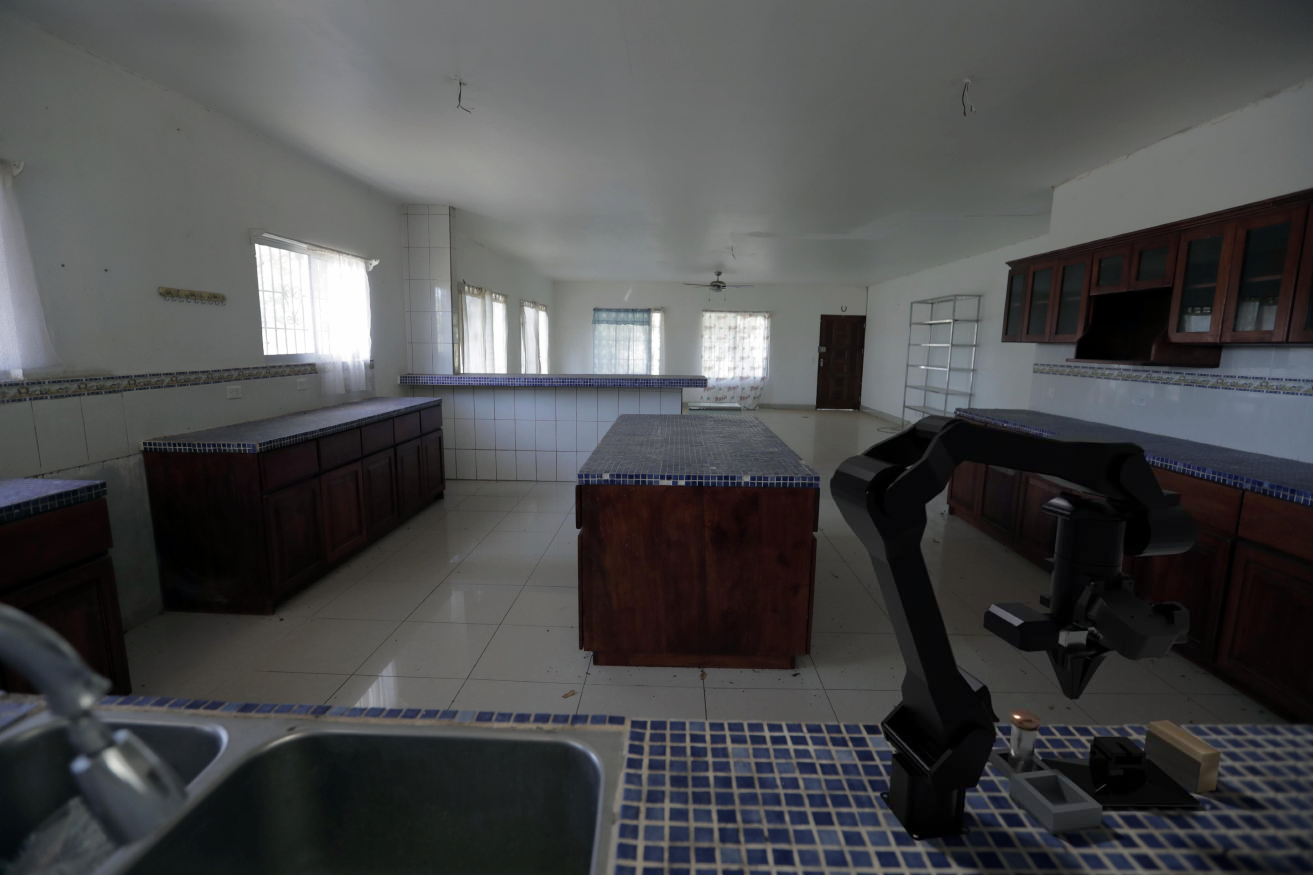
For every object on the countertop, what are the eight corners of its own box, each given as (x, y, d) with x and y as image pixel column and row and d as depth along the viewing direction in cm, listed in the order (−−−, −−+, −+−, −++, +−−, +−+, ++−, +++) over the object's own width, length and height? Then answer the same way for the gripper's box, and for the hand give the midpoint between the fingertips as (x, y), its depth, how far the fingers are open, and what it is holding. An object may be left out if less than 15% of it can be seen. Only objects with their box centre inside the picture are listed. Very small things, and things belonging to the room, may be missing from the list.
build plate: (1079, 806, 62) (1082, 766, 62) (1038, 760, 70) (1040, 723, 69) (1201, 806, 62) (1205, 765, 61) (1146, 759, 69) (1149, 722, 69)
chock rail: (1194, 796, 64) (1200, 754, 64) (1142, 761, 70) (1147, 721, 70) (1214, 793, 65) (1220, 751, 64) (1161, 758, 71) (1167, 719, 70)
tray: (1051, 835, 59) (1054, 812, 58) (1009, 795, 64) (1011, 773, 64) (1099, 829, 60) (1102, 806, 59) (1054, 789, 65) (1056, 768, 65)
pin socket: (1017, 787, 65) (1018, 779, 65) (985, 757, 70) (986, 749, 70) (1056, 782, 66) (1057, 774, 66) (1022, 753, 71) (1023, 745, 71)
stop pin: (1018, 779, 67) (1024, 724, 66) (1000, 763, 69) (1005, 709, 69) (1040, 776, 67) (1046, 722, 66) (1020, 760, 70) (1026, 707, 69)
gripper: (1076, 591, 52) (1056, 754, 54) (1249, 582, 55) (1225, 736, 57) (986, 551, 63) (973, 688, 65) (1135, 545, 66) (1118, 676, 68)
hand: (1070, 697), depth 64 cm, fingers closed
